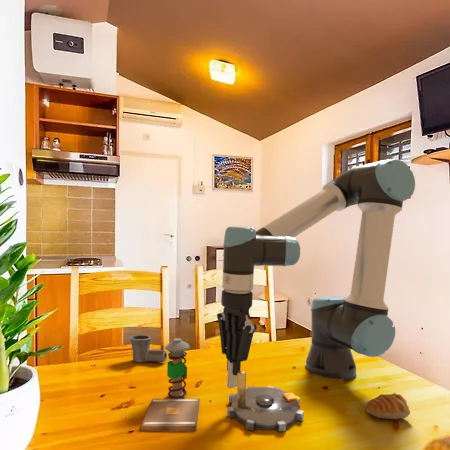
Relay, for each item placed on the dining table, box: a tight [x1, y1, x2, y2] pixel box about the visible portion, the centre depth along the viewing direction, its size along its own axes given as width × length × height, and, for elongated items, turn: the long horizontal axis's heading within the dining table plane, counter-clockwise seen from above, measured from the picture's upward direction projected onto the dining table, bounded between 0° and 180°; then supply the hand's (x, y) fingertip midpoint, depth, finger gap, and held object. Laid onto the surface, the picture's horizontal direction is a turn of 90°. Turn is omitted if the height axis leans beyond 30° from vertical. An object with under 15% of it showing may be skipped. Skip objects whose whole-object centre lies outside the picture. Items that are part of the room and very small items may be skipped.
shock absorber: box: [164, 337, 190, 399], centre depth 91 cm, size 6×6×15 cm
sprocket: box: [226, 370, 305, 433], centre depth 84 cm, size 19×19×10 cm
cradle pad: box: [140, 398, 201, 432], centre depth 82 cm, size 12×12×1 cm
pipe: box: [129, 334, 168, 364], centre depth 114 cm, size 6×13×8 cm, turn 77°
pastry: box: [365, 392, 411, 420], centre depth 83 cm, size 9×7×4 cm
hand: (232, 386), depth 85 cm, fingers closed
